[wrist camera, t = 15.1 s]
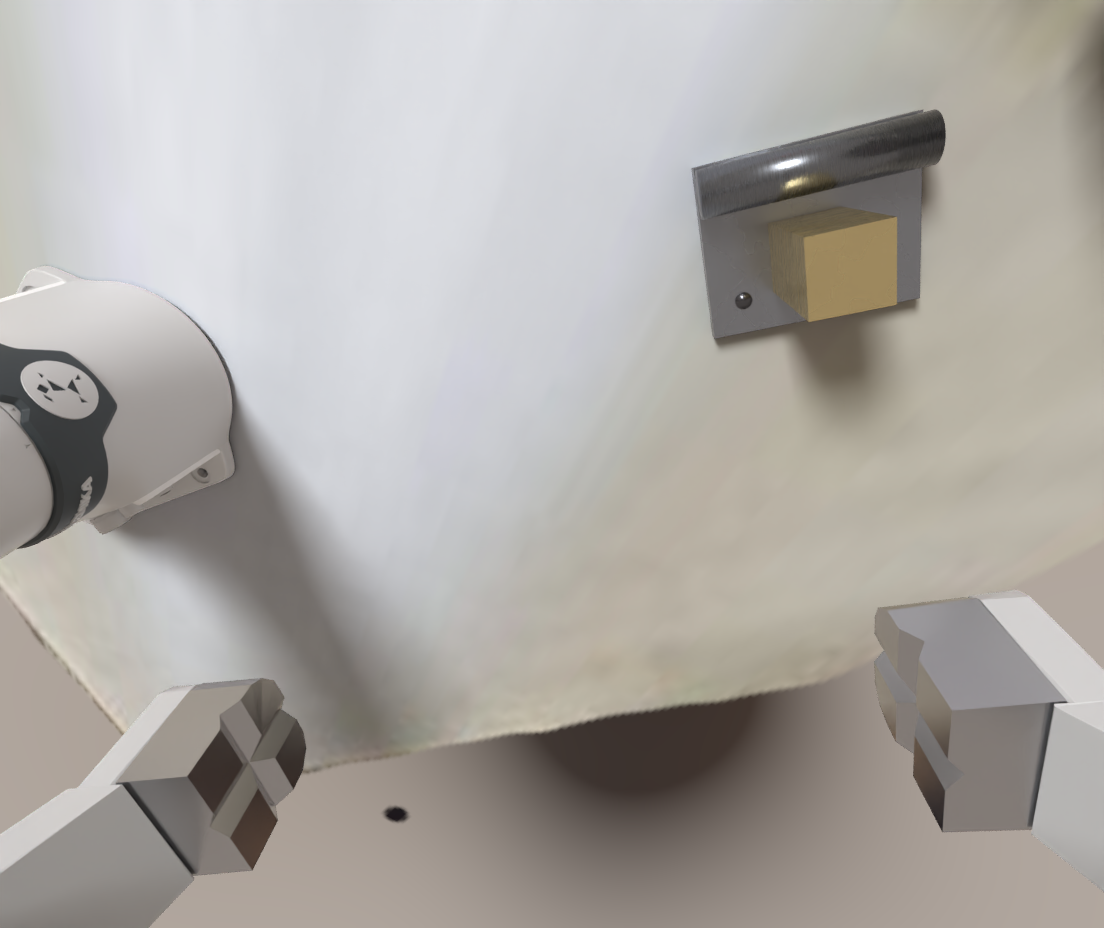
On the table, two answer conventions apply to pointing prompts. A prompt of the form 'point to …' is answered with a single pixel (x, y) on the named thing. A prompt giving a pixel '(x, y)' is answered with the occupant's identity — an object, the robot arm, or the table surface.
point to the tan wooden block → (834, 262)
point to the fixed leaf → (808, 208)
